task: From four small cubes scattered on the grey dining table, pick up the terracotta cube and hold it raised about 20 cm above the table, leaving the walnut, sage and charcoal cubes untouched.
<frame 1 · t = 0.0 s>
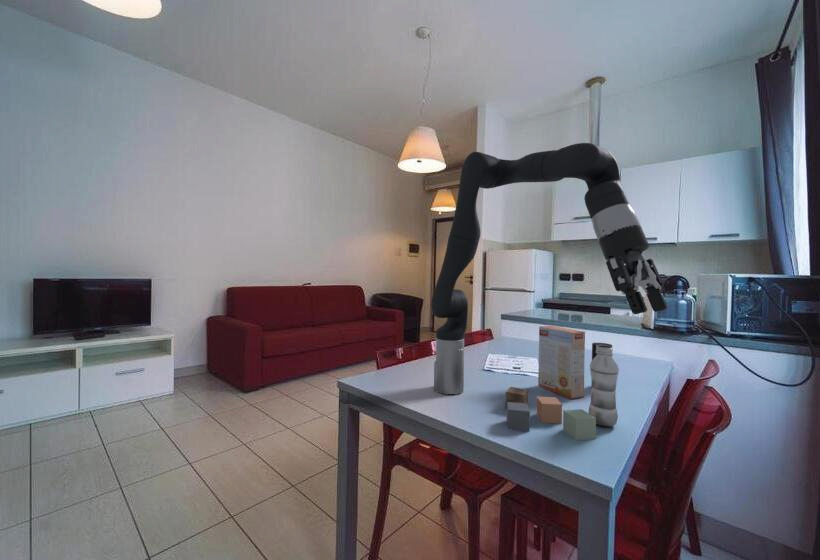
hand: (651, 311, 60), 31 cm above the table, tool tilted 20°, fingers open, 8 cm apart
plastic bottle: (602, 424, 84), on the table
charcoal cube: (517, 426, 83), on the table
terracotta cube: (548, 419, 87), on the table
sage cube: (578, 434, 79), on the table
walnut cube: (516, 408, 94), on the table
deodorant: (601, 388, 112), on the table
cracker box: (560, 391, 108), on the table
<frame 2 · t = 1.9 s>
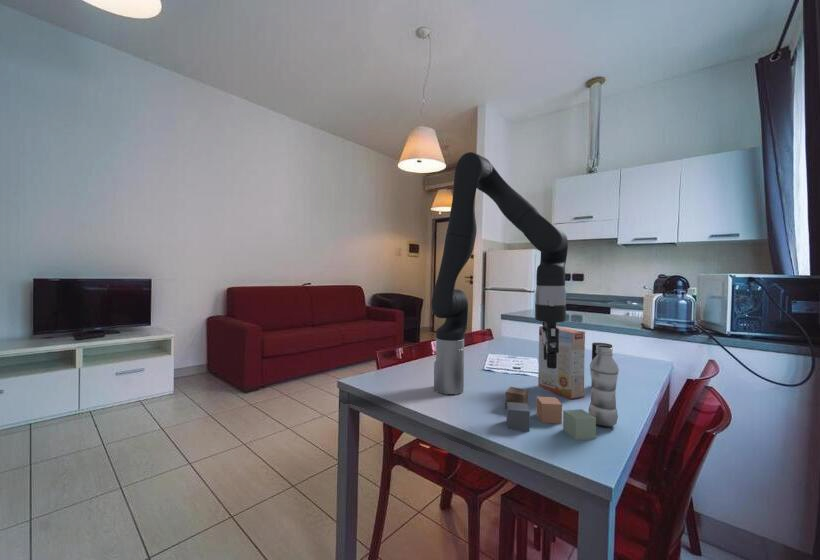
hand: (549, 363, 87), 15 cm above the table, tool pointing down, fingers open, 8 cm apart
nothing on the table moved.
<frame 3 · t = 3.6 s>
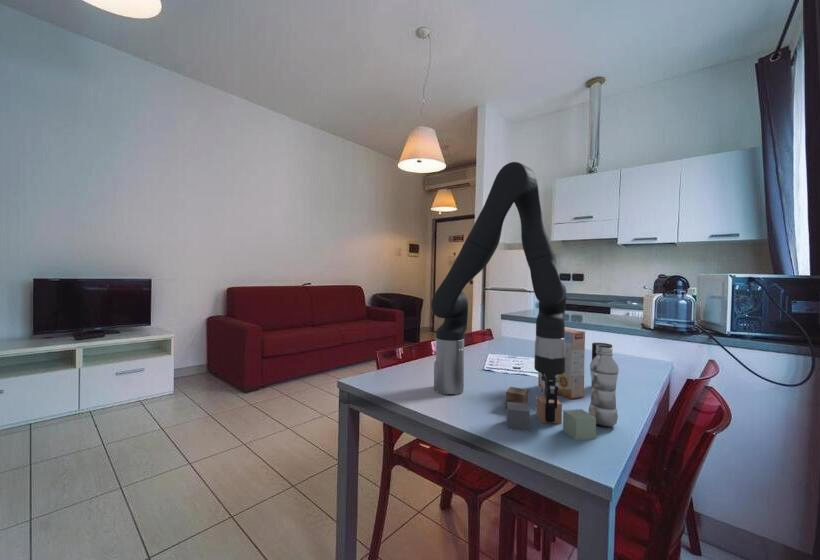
hand: (548, 416, 87), 1 cm above the table, tool pointing down, fingers closed on terracotta cube, 5 cm apart
terracotta cube: (548, 418, 87), on the table, touching gripper
everything else where it was.
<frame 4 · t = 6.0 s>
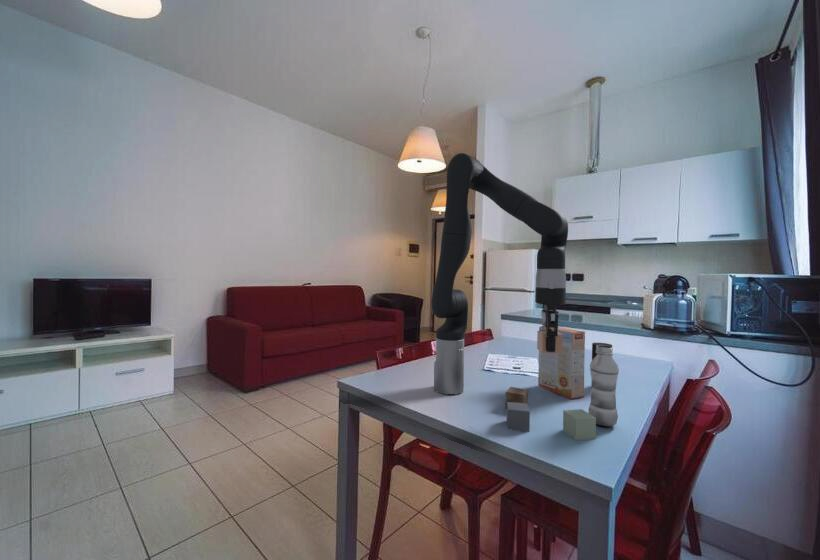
hand: (549, 348, 88), 18 cm above the table, tool pointing down, fingers closed on terracotta cube, 5 cm apart
terracotta cube: (549, 351, 88), point 18 cm above the table, touching gripper
everything else where it was.
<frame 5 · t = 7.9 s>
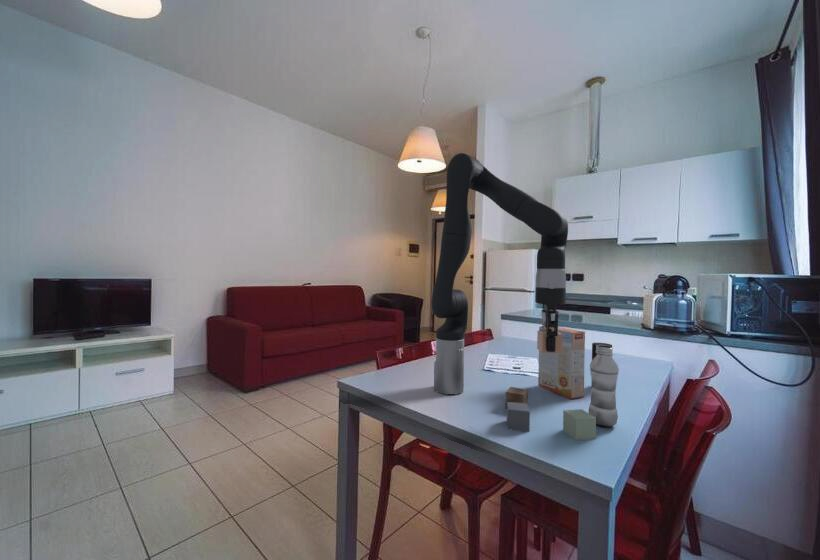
hand: (549, 348, 88), 18 cm above the table, tool pointing down, fingers closed on terracotta cube, 5 cm apart
terracotta cube: (549, 351, 88), point 18 cm above the table, touching gripper
everything else where it was.
at the end: the gripper is holding terracotta cube; terracotta cube point 17.8 cm above the table; sage cube moved 0.1 cm from its start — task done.
